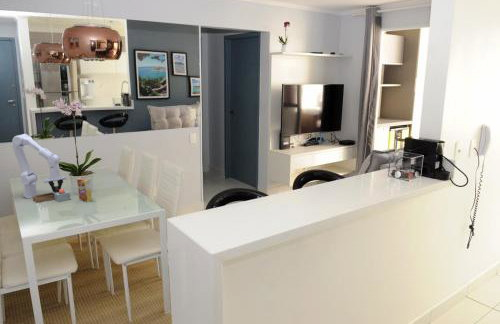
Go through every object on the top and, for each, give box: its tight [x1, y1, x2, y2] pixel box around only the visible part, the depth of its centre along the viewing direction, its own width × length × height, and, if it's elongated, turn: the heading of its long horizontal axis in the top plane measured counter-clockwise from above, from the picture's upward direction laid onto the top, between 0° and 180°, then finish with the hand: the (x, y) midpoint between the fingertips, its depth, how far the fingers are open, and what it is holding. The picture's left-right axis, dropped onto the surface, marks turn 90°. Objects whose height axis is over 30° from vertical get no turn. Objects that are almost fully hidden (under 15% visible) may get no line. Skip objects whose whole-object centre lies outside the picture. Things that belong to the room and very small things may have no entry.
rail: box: [32, 192, 55, 204], centre depth 273 cm, size 8×19×3 cm, turn 135°
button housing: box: [54, 190, 71, 203], centre depth 270 cm, size 6×8×5 cm
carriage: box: [50, 185, 59, 195], centre depth 275 cm, size 5×6×6 cm
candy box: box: [76, 177, 93, 203], centre depth 269 cm, size 9×4×15 cm, turn 61°
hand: (56, 190), depth 275 cm, fingers open, 3 cm apart
